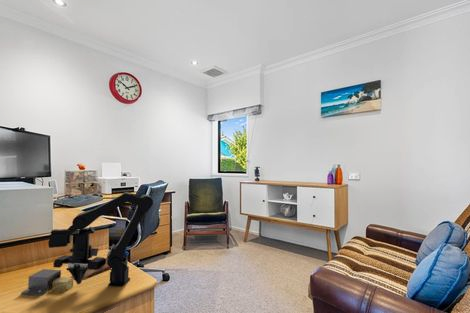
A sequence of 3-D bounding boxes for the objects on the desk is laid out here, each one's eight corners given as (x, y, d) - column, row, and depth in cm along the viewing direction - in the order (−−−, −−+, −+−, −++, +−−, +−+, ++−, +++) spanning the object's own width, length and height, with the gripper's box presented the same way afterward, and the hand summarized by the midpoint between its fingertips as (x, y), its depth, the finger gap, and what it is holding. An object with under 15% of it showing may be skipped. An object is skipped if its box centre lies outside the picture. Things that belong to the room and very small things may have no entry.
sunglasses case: (82, 280, 103) (78, 265, 104) (74, 285, 105) (70, 270, 107) (119, 265, 119) (115, 252, 120) (111, 270, 121) (107, 257, 123)
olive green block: (73, 286, 98) (73, 277, 98) (66, 291, 95) (66, 282, 95) (59, 285, 99) (59, 277, 99) (52, 290, 95) (52, 281, 95)
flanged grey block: (65, 280, 103) (66, 267, 103) (40, 295, 91) (41, 281, 91) (48, 279, 104) (49, 266, 104) (21, 294, 92) (21, 279, 92)
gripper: (114, 239, 104) (112, 275, 103) (74, 237, 105) (72, 273, 105) (97, 248, 93) (96, 289, 92) (53, 246, 94) (51, 286, 94)
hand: (79, 283), depth 96 cm, fingers closed
